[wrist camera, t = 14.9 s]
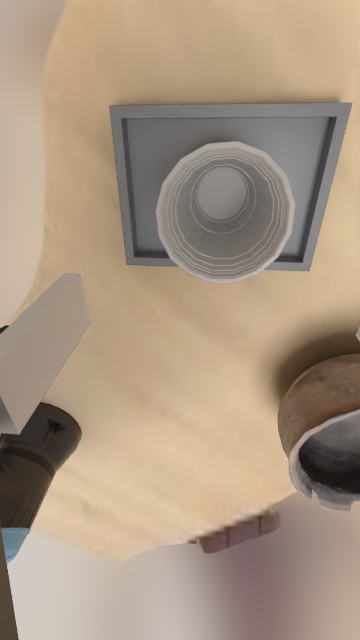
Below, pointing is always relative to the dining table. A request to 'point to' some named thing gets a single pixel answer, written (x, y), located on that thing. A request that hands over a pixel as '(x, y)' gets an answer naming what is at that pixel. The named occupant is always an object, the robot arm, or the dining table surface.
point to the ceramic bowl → (324, 432)
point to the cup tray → (216, 127)
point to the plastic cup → (225, 212)
